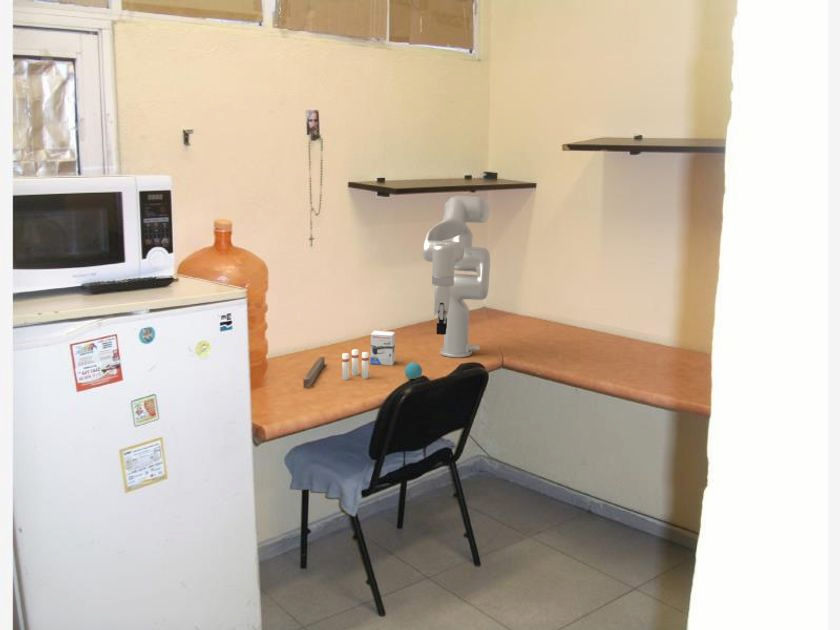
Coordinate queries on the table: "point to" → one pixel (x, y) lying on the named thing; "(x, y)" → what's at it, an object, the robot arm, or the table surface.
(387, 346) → the ink box
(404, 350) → the table surface
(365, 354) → the pin front
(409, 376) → the ball
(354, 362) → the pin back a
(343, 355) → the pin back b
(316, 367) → the bar
